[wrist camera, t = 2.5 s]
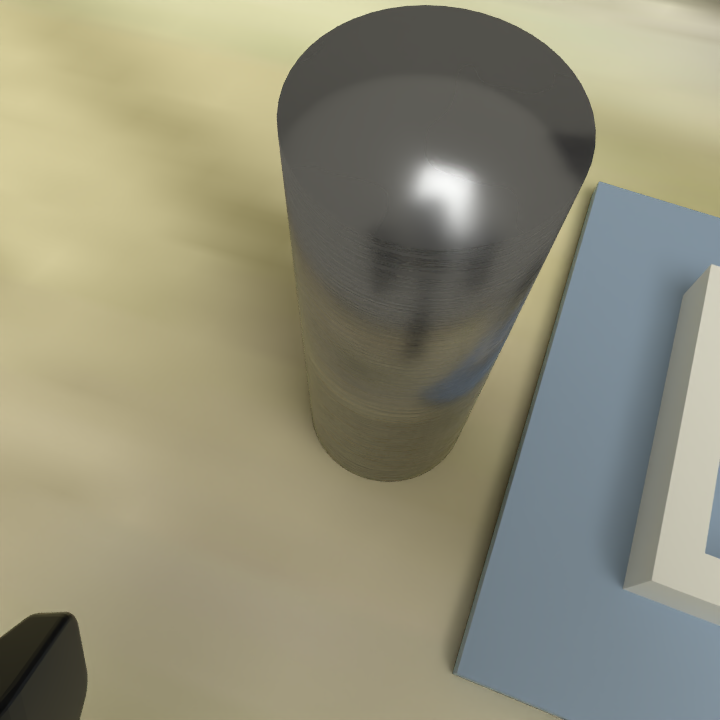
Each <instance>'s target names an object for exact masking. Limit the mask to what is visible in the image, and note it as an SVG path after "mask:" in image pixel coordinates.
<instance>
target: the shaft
mask: <svg viewBox="0 0 720 720" xmlns="http://www.w3.org/2000/svg"><path fill="white" fill-rule="evenodd" d="M277 127H278V138H279V146H280V155H281V163H282V171H283V180H284V188H285V196H286V205H287V213H288V221H289V229H290V238H291V246H292V254H293V263H294V271H295V279H296V288H297V296H298V304H299V313H300V321H301V329H302V337H303V346H304V354H305V362H306V371H307V379H308V387H309V396H310V404H311V412H312V420H313V424H314V428H315V431H316V434H317V437H318V439H319V440H320V442H321V444H322V446H323V447H324V449H325V450H326V451H327V453H328V454H329V455H330V456H331V457H332V458H333V459H334V460H335V461H336V462H337V463H338V464H340V465H341V466H342V467H343V468H345V469H347V470H348V471H350V472H352V473H354V474H356V475H358V476H361V477H364V478H367V479H370V480H376V481H386V482H393V481H402V480H407V479H411V478H414V477H417V476H420V475H422V474H424V473H426V472H428V471H429V470H431V469H432V468H434V467H435V466H436V465H438V464H439V463H440V462H441V461H442V460H443V459H444V458H445V457H446V456H447V455H448V453H449V452H450V451H451V449H452V448H453V446H454V444H455V442H456V441H457V438H458V436H459V434H460V432H461V430H462V428H463V426H464V424H465V422H466V420H467V418H468V416H469V414H470V412H471V410H472V408H473V406H474V404H475V402H476V400H477V398H478V396H479V394H480V392H481V390H482V388H483V386H484V384H485V381H486V379H487V377H488V375H489V373H490V371H491V369H492V367H493V365H494V363H495V361H496V359H497V357H498V355H499V353H500V351H501V349H502V347H503V345H504V343H505V341H506V339H507V337H508V335H509V333H510V331H511V329H512V327H513V325H514V322H515V320H516V318H517V316H518V314H519V312H520V310H521V308H522V306H523V304H524V302H525V300H526V298H527V296H528V294H529V292H530V290H531V288H532V286H533V284H534V282H535V280H536V278H537V276H538V274H539V272H540V270H541V268H542V266H543V263H544V261H545V259H546V257H547V255H548V253H549V251H550V249H551V247H552V245H553V243H554V241H555V239H556V237H557V235H558V233H559V231H560V229H561V227H562V225H563V223H564V221H565V219H566V217H567V215H568V213H569V211H570V209H571V206H572V204H573V202H574V200H575V198H576V196H577V194H578V192H579V190H580V188H581V186H582V184H583V182H584V180H585V178H586V176H587V173H588V171H589V168H590V166H591V163H592V159H593V154H594V150H595V135H596V129H595V122H594V115H593V112H592V108H591V105H590V102H589V99H588V97H587V95H586V93H585V91H584V89H583V87H582V85H581V83H580V81H579V80H578V79H577V77H576V76H575V74H574V73H573V71H572V70H571V69H570V68H569V66H568V65H567V64H566V63H565V62H564V61H563V60H562V59H561V57H560V56H558V55H557V54H556V53H555V52H554V51H553V50H552V49H550V48H549V47H548V46H547V45H546V44H544V43H543V42H541V41H540V40H539V39H537V38H536V37H534V36H533V35H531V34H529V33H528V32H526V31H524V30H522V29H520V28H519V27H517V26H515V25H512V24H510V23H508V22H506V21H503V20H501V19H499V18H495V17H492V16H489V15H486V14H483V13H480V12H475V11H471V10H467V9H462V8H454V7H447V6H431V5H420V6H404V7H397V8H390V9H385V10H381V11H376V12H372V13H369V14H366V15H363V16H360V17H357V18H355V19H352V20H350V21H348V22H346V23H344V24H342V25H340V26H337V27H336V28H334V29H333V30H331V31H330V32H328V33H326V34H325V35H323V36H322V37H321V38H319V39H318V40H317V41H316V42H315V43H313V44H312V45H311V46H310V47H309V48H308V49H307V50H306V51H305V52H304V53H303V54H302V55H301V56H300V58H299V59H298V60H297V62H296V63H295V65H294V66H293V67H292V69H291V70H290V72H289V74H288V76H287V78H286V80H285V82H284V84H283V87H282V91H281V94H280V98H279V102H278V111H277Z"/></svg>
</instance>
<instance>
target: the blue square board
mask: <svg viewBox="0 0 720 720" xmlns="http://www.w3.org/2000/svg"><path fill="white" fill-rule="evenodd" d="M453 674H454V675H457V676H459V677H462V678H464V679H466V680H469V681H471V682H474V683H476V684H479V685H481V686H484V687H486V688H488V689H491V690H493V691H496V692H498V693H501V694H503V695H505V696H508V697H510V698H513V699H515V700H518V701H520V702H523V703H525V704H527V705H530V706H532V707H535V708H537V709H540V710H542V711H544V712H547V713H549V714H552V715H554V716H557V717H559V718H562V719H564V720H720V218H718V217H715V216H711V215H708V214H705V213H701V212H698V211H695V210H692V209H688V208H685V207H682V206H678V205H675V204H672V203H668V202H665V201H662V200H659V199H655V198H652V197H649V196H645V195H642V194H639V193H636V192H632V191H629V190H626V189H622V188H619V187H616V186H613V185H609V184H606V183H603V182H599V183H598V185H597V187H596V189H595V191H594V193H593V194H592V197H591V201H590V204H589V208H588V211H587V215H586V218H585V221H584V225H583V228H582V232H581V235H580V239H579V242H578V245H577V249H576V252H575V256H574V259H573V263H572V266H571V269H570V273H569V276H568V280H567V283H566V287H565V290H564V293H563V297H562V300H561V304H560V307H559V311H558V314H557V317H556V321H555V324H554V328H553V331H552V335H551V338H550V341H549V345H548V348H547V352H546V355H545V359H544V362H543V365H542V369H541V372H540V376H539V379H538V382H537V386H536V389H535V393H534V396H533V400H532V403H531V406H530V410H529V413H528V417H527V420H526V424H525V427H524V430H523V434H522V437H521V441H520V444H519V448H518V451H517V454H516V458H515V461H514V465H513V468H512V472H511V475H510V478H509V482H508V485H507V489H506V492H505V496H504V499H503V502H502V506H501V509H500V513H499V516H498V520H497V523H496V526H495V530H494V533H493V537H492V540H491V544H490V547H489V550H488V554H487V557H486V561H485V564H484V568H483V571H482V574H481V578H480V581H479V585H478V588H477V592H476V595H475V598H474V602H473V605H472V609H471V612H470V615H469V619H468V622H467V626H466V629H465V633H464V636H463V639H462V643H461V646H460V650H459V653H458V657H457V660H456V663H455V667H454V670H453Z"/></svg>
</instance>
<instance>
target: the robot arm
mask: <svg viewBox="0 0 720 720" xmlns="http://www.w3.org/2000/svg"><path fill="white" fill-rule="evenodd" d="M86 691H87V668H86V663H85V658H84V653H83V647H82V642H81V637H80V632H79V627H78V623H77V620H76V618H75V616H74V615H73V614H71V613H69V612H52V613H37V614H33V615H30V616H29V617H27V618H26V619H24V620H23V621H22V622H20V623H19V624H18V625H16V626H15V627H14V628H12V629H11V630H10V631H8V632H7V633H6V634H4V635H3V636H2V637H0V720H80V716H81V712H82V709H83V705H84V701H85V697H86Z"/></svg>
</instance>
